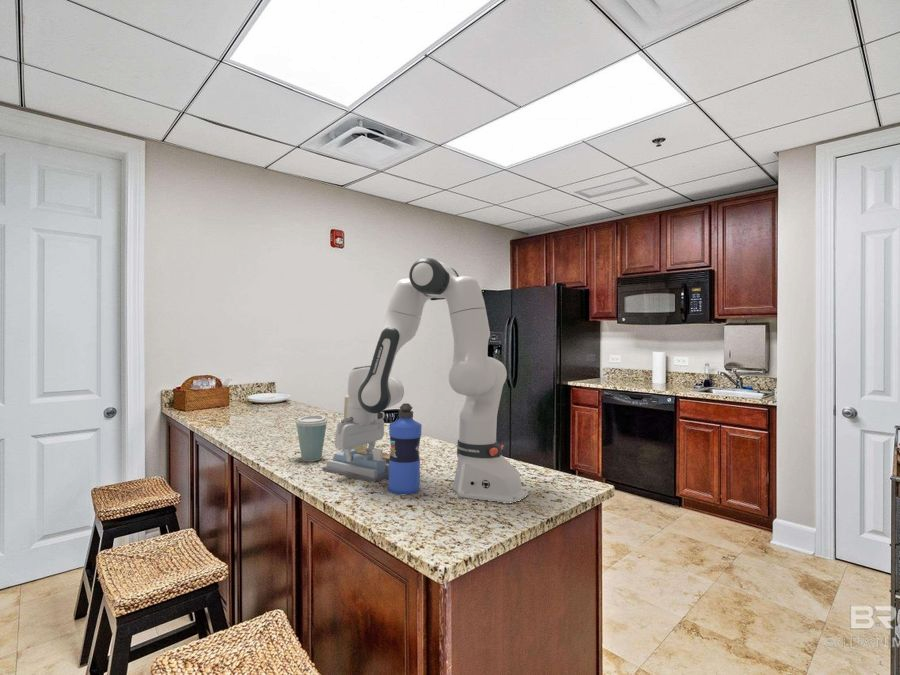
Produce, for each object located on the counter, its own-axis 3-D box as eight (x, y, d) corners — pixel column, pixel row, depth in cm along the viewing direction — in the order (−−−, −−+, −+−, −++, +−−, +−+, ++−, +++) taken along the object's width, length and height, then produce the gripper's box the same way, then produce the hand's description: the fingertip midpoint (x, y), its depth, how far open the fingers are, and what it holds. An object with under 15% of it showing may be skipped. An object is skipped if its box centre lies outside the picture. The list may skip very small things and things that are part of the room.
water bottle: (390, 495, 132) (392, 406, 132) (385, 485, 141) (388, 401, 140) (422, 493, 134) (425, 406, 134) (416, 483, 143) (418, 401, 143)
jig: (396, 473, 152) (396, 464, 152) (374, 482, 143) (374, 472, 143) (345, 462, 164) (346, 454, 164) (322, 470, 154) (322, 461, 154)
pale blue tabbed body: (385, 472, 151) (386, 448, 151) (376, 475, 147) (377, 451, 147) (339, 462, 161) (339, 440, 161) (329, 464, 157) (330, 442, 157)
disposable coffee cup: (317, 464, 161) (318, 420, 161) (288, 462, 163) (290, 418, 163) (331, 457, 171) (332, 415, 171) (304, 454, 173) (305, 414, 173)
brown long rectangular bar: (409, 466, 163) (409, 458, 163) (400, 470, 158) (401, 461, 158) (365, 457, 173) (365, 449, 173) (355, 460, 169) (356, 452, 169)
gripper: (345, 421, 143) (344, 466, 143) (387, 412, 160) (386, 453, 160) (330, 418, 146) (329, 463, 146) (373, 410, 163) (372, 450, 164)
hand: (359, 458), depth 153 cm, fingers open, 8 cm apart
